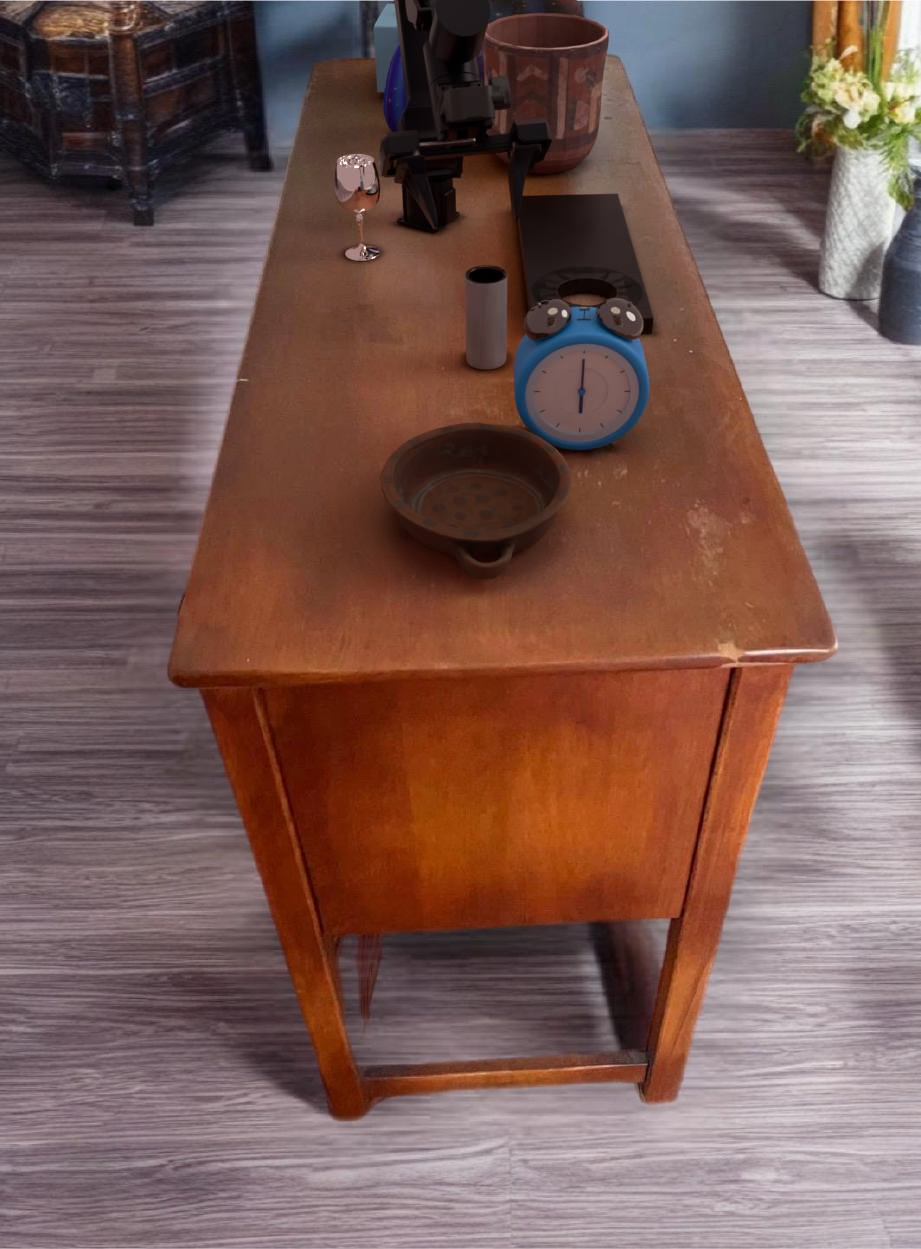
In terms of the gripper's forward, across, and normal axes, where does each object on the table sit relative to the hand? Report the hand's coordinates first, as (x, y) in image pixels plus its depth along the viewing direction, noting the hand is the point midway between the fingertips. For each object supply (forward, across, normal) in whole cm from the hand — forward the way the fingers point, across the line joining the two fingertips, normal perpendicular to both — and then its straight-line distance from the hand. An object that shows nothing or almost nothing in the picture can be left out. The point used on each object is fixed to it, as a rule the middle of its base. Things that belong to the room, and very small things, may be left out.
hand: (476, 223), depth 132 cm
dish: (+34, -8, -18) cm, 40 cm away
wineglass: (-7, -10, +25) cm, 28 cm away
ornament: (-34, +4, +53) cm, 63 cm away
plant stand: (0, +16, +18) cm, 24 cm away
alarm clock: (+27, +5, -10) cm, 29 cm away
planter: (+15, -1, +3) cm, 15 cm away
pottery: (-24, +21, +44) cm, 54 cm away
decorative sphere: (-40, +24, +60) cm, 75 cm away
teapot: (-50, +9, +70) cm, 87 cm away
